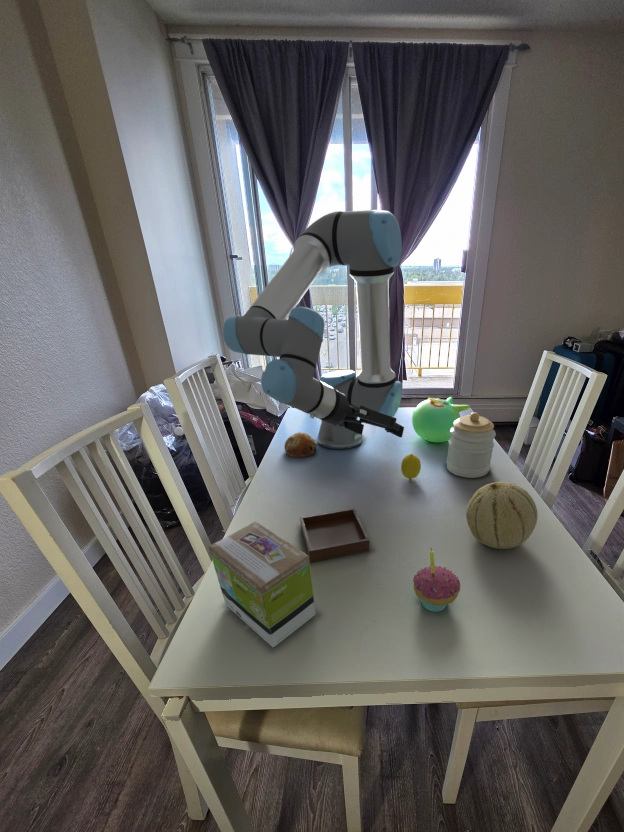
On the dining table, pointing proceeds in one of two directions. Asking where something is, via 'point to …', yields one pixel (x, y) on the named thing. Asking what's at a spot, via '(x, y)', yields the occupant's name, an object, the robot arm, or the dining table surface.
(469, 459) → the jar
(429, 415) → the toy bird
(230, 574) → the tea box
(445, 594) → the cupcake
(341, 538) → the tray
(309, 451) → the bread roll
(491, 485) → the cantaloupe
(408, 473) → the lemon
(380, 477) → the dining table surface
